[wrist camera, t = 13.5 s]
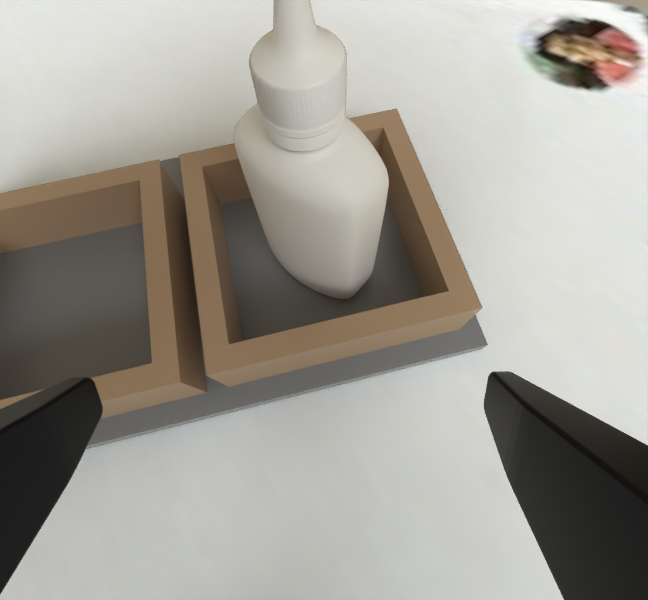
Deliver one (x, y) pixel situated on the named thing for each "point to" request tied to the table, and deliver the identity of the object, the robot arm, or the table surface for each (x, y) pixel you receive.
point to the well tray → (213, 291)
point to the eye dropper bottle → (310, 157)
